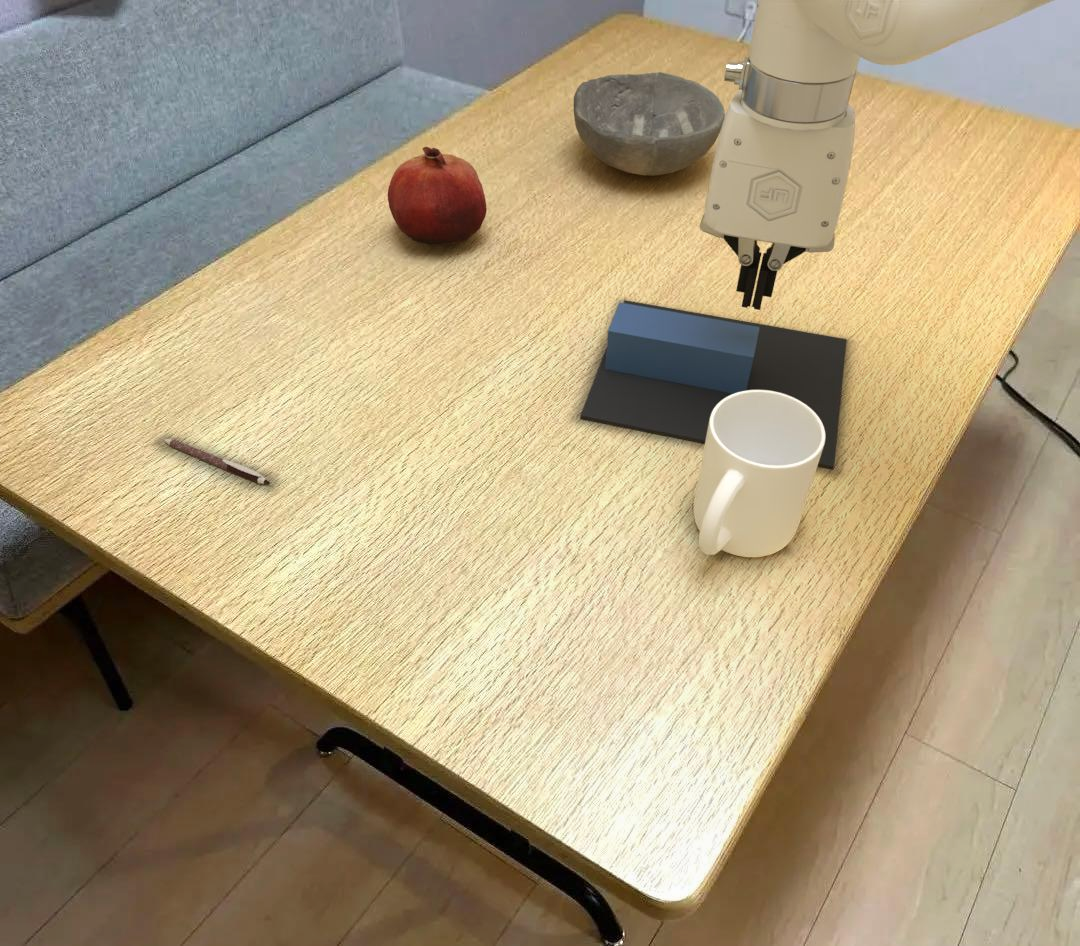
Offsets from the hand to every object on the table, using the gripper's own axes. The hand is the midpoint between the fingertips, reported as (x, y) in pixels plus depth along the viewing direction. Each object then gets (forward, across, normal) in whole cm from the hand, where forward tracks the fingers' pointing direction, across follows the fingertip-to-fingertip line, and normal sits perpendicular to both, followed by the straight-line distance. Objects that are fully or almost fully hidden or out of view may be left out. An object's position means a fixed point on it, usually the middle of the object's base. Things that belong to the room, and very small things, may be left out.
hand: (752, 299), depth 81 cm
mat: (+9, -2, 0) cm, 9 cm away
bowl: (+10, -17, +38) cm, 42 cm away
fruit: (+10, -35, +15) cm, 39 cm away
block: (+7, +1, 0) cm, 7 cm away
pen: (+10, -40, -23) cm, 48 cm away
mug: (+9, +2, -19) cm, 21 cm away
